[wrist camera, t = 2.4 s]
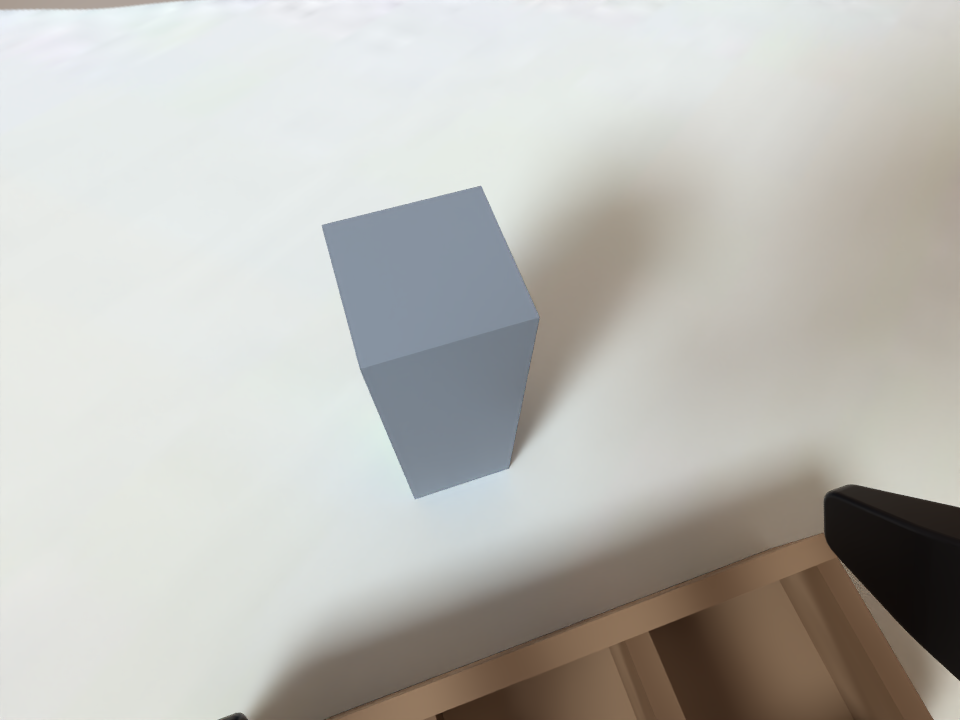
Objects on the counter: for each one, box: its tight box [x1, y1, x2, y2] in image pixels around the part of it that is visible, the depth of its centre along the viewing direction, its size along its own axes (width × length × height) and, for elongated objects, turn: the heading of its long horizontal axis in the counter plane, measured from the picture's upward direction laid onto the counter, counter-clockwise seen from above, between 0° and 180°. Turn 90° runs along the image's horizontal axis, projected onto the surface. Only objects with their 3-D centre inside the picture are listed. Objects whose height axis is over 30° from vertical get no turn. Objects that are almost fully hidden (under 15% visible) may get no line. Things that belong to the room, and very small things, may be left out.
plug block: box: [322, 186, 540, 499], centre depth 18 cm, size 4×4×12 cm
